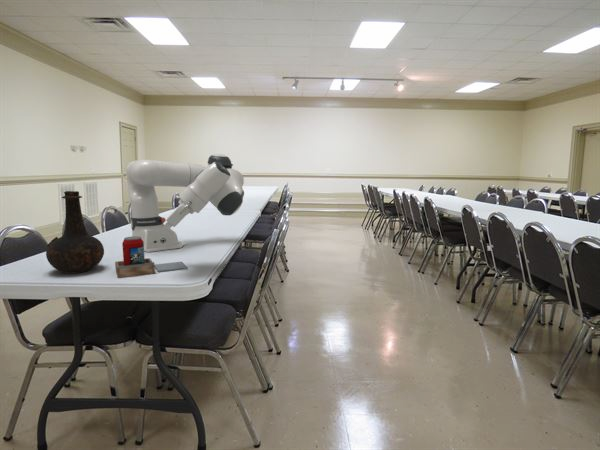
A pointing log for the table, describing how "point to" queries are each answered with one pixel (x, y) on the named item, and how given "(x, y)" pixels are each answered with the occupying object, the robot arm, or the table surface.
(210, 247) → the table surface
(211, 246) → the table surface
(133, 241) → the beverage can
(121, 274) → the can cradle
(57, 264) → the glass bottle
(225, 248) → the table surface
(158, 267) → the rubber mat
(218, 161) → the robot arm
